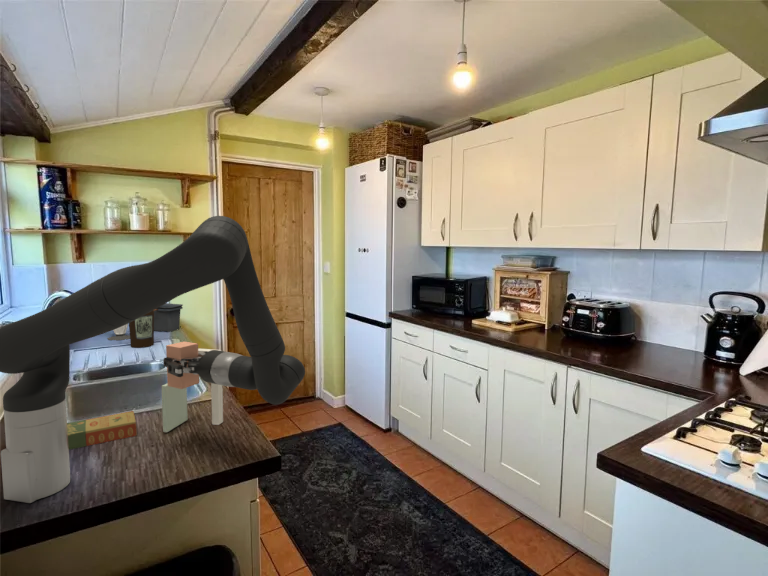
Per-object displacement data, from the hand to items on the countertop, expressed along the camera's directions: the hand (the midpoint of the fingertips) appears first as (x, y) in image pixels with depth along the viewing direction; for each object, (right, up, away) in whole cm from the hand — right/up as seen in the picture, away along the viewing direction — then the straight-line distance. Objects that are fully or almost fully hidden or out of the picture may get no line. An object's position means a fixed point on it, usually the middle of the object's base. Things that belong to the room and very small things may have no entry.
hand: (175, 359), depth 104 cm
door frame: (+1, -19, +11) cm, 22 cm away
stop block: (+2, -6, -1) cm, 7 cm away
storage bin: (-72, -6, +129) cm, 148 cm away
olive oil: (-62, -10, +94) cm, 113 cm away
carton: (-20, -20, +1) cm, 28 cm away
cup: (-82, -8, +108) cm, 136 cm away
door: (-3, -19, +7) cm, 20 cm away
